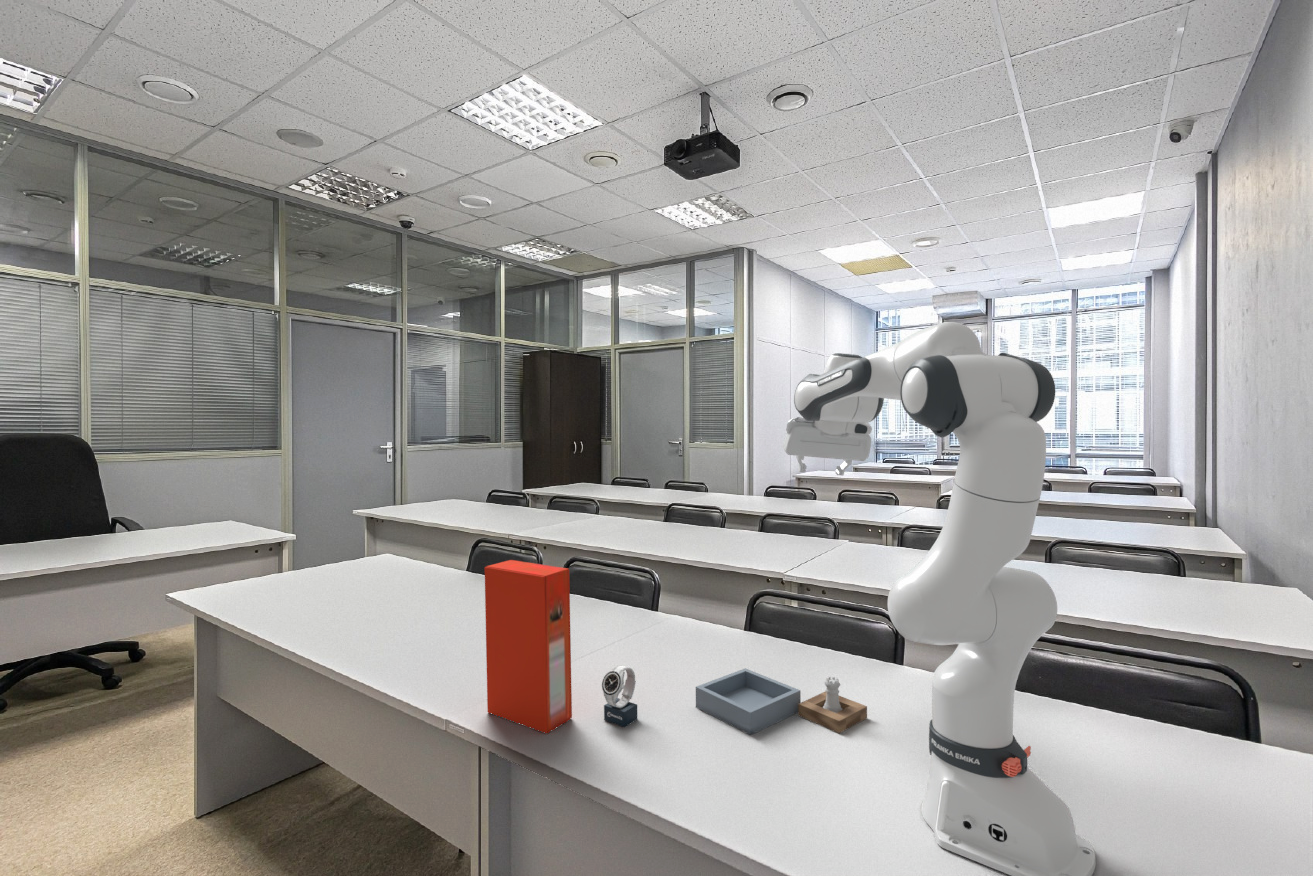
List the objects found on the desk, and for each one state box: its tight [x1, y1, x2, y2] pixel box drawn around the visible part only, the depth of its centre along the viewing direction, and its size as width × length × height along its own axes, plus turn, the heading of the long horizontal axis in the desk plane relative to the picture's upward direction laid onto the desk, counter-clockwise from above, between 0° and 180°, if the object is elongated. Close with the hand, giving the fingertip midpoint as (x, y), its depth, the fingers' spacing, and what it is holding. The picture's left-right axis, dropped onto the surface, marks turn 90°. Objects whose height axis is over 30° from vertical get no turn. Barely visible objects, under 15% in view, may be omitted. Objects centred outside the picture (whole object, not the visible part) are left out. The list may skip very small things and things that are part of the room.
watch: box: [601, 664, 638, 728], centre depth 127 cm, size 6×8×11 cm
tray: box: [695, 668, 802, 736], centre depth 131 cm, size 16×16×4 cm
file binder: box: [484, 559, 573, 734], centre depth 129 cm, size 8×17×32 cm, turn 57°
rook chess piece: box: [823, 676, 843, 713], centre depth 128 cm, size 4×4×8 cm
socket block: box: [798, 690, 868, 734], centre depth 128 cm, size 10×10×2 cm
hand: (820, 472), depth 147 cm, fingers open, 8 cm apart
